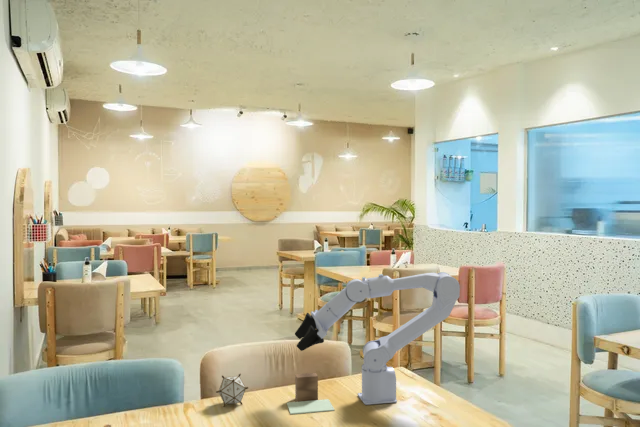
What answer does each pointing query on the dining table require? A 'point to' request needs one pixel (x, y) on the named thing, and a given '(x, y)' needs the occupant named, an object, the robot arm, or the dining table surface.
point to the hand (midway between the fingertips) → (297, 342)
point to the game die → (232, 390)
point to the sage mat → (310, 406)
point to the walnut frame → (306, 387)
